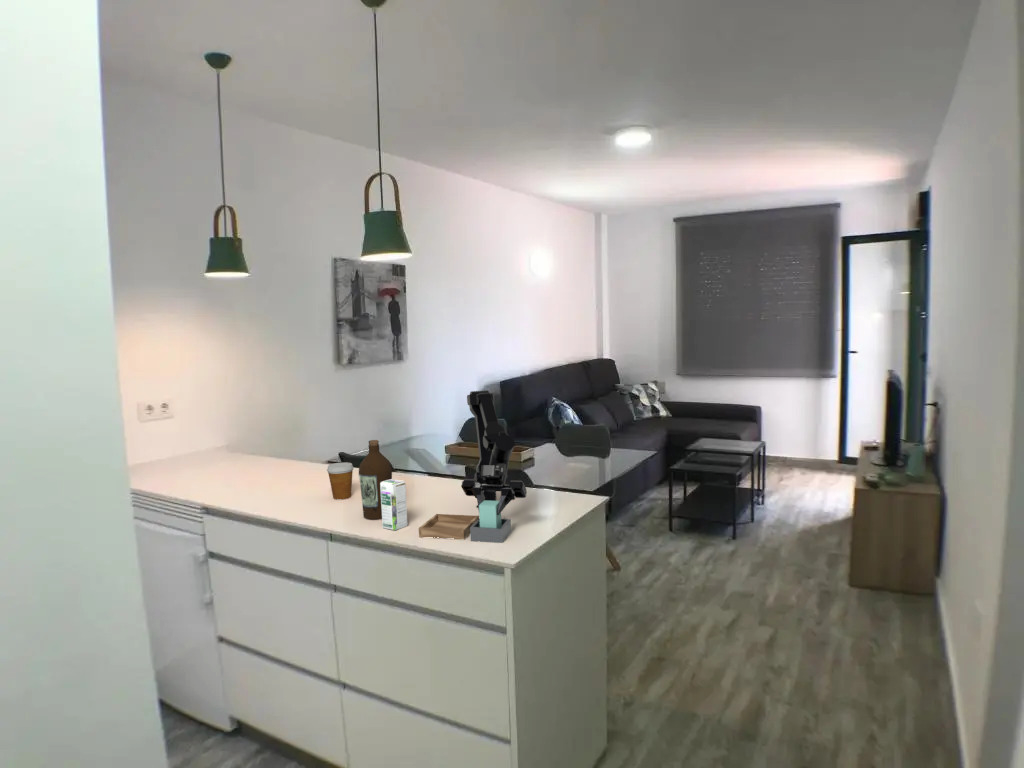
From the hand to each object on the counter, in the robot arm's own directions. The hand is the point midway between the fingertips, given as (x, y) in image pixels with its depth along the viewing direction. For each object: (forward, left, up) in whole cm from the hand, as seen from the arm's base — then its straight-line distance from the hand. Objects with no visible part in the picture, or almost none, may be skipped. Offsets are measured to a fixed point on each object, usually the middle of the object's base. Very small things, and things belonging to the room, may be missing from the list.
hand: (488, 514), depth 193 cm
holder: (-1, 0, -7) cm, 7 cm away
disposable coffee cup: (-34, -67, -7) cm, 76 cm away
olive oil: (-15, -43, -7) cm, 47 cm away
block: (-1, 0, -7) cm, 7 cm away
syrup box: (-5, -32, -7) cm, 34 cm away
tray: (-4, -14, -7) cm, 16 cm away
